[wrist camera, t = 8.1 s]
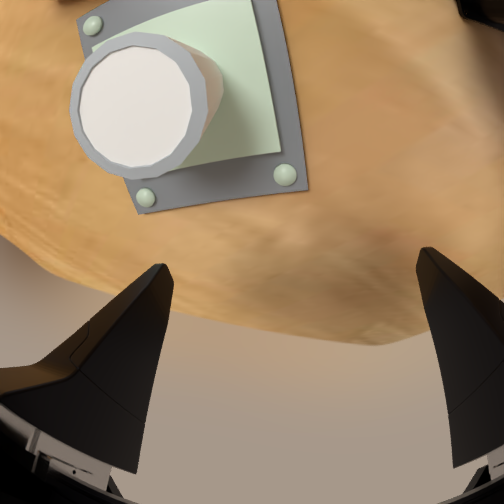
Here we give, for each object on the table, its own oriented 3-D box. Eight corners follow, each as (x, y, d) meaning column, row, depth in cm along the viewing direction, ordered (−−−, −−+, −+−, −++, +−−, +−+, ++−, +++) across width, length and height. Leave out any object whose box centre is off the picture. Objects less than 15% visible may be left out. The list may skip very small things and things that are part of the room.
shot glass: (135, 41, 13) (68, 42, 8) (241, 41, 13) (218, 29, 8) (131, 134, 17) (74, 176, 12) (227, 143, 17) (201, 189, 12)
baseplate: (263, -45, 10) (262, -54, 9) (307, 185, 21) (309, 196, 19) (82, 19, 13) (68, 19, 11) (141, 209, 23) (133, 221, 22)
